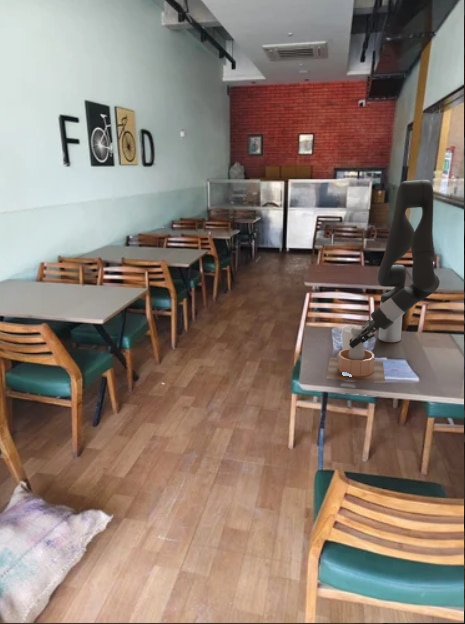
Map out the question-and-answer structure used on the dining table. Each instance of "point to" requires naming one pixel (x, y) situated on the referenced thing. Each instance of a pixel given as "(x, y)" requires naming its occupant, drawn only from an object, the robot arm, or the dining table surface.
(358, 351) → the salt shaker
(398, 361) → the dining table surface
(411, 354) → the dining table surface
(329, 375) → the walnut board
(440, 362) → the dining table surface
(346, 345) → the white cup
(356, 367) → the wooden bowl
